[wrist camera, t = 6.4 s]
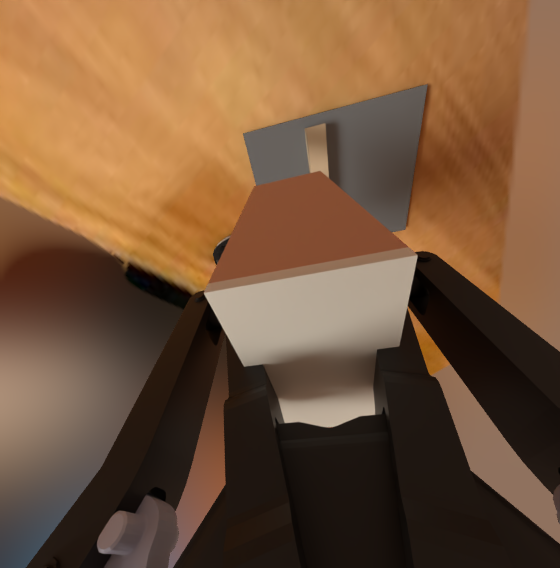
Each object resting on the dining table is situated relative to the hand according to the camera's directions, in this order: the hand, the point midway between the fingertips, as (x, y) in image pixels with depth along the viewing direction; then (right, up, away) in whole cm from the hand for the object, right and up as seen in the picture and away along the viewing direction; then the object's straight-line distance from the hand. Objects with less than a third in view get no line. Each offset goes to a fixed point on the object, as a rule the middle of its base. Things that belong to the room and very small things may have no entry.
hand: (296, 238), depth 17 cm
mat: (+6, +9, +11) cm, 15 cm away
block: (0, 0, +1) cm, 1 cm away
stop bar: (+4, +9, +10) cm, 14 cm away
